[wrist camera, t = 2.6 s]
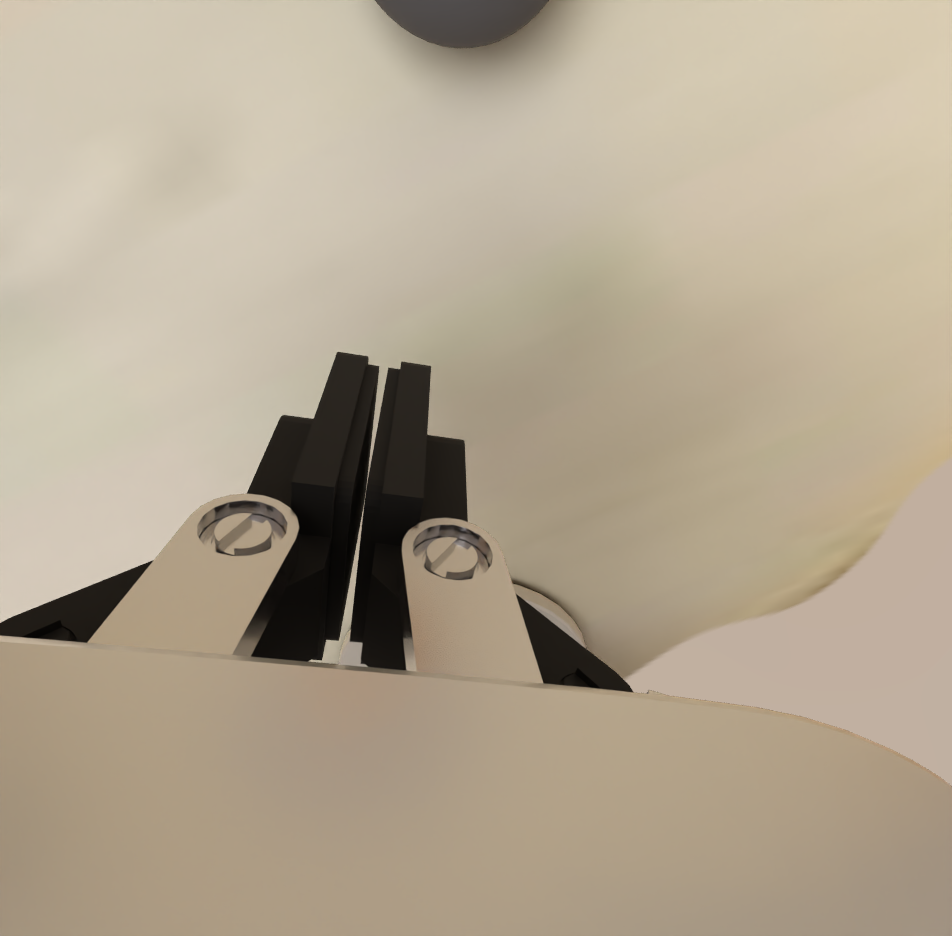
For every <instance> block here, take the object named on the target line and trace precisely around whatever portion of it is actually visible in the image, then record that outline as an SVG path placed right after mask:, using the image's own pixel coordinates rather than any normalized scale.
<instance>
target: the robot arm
mask: <svg viewBox="0 0 952 936" xmlns="http://www.w3.org/2000/svg"><path fill="white" fill-rule="evenodd" d="M378 374H379V366H374V365H368V356H362V355H355V354H349V353H342V352H337V355H336V357H335V360H334V363H333V366H332V369H331V372H330V374H329V377H328V380H327V383H326V386H325V389H324V391H323V394H322V397H321V400H320V403H319V406H318V408H317V411H316V414H315V417H314V419H309V418H302V417H295V416H287V415H282V416H281V418H280V420H279V422H278V424H277V426H276V429H275V431H274V433H273V435H272V438H271V440H270V442H269V444H268V447H267V449H266V451H265V453H264V456H263V458H262V460H261V463H260V465H259V467H258V469H257V472H256V474H255V476H254V478H253V481H252V483H251V485H250V487H249V490H248V492H247V494H236V495H228V496H225V497H221V498H217V499H214V500H212V501H210V502H208V503H206V504H204V505H202V506H200V507H199V508H198V509H197V510H196V511H195V512H193V513H192V514H191V515H190V516H189V518H188V519H187V520H186V521H185V522H184V524H183V525H182V526H181V527H180V529H179V530H178V531H177V532H176V534H175V535H174V536H173V537H172V539H171V540H170V541H169V542H168V543H167V545H166V546H165V547H164V548H163V550H162V551H161V552H160V553H159V555H158V556H157V557H156V558H155V559H154V560H153V561H150V562H148V563H145V564H143V565H140V566H138V567H135V568H133V569H130V570H128V571H125V572H123V573H121V574H118V575H116V576H113V577H111V578H108V579H106V580H103V581H101V582H98V583H96V584H93V585H91V586H88V587H86V588H83V589H81V590H78V591H76V592H73V593H71V594H68V595H66V596H63V597H61V598H58V599H56V600H53V601H51V602H48V603H46V604H43V605H41V606H38V607H36V608H33V609H31V610H28V611H26V612H23V613H21V614H18V615H16V616H13V617H11V618H9V619H7V620H5V621H3V622H1V623H0V936H952V786H951V785H949V784H948V783H947V782H946V781H945V780H943V779H942V778H941V777H939V776H938V775H936V774H935V773H933V772H931V771H930V770H928V769H926V768H925V767H923V766H921V765H920V764H918V763H916V762H914V761H913V760H911V759H909V758H907V757H905V756H903V755H901V754H899V753H897V752H896V751H894V750H892V749H889V748H887V747H885V746H883V745H880V744H878V743H875V742H873V741H871V740H868V739H866V738H864V737H861V736H859V735H857V734H854V733H852V732H849V731H847V730H844V729H841V728H837V727H834V726H831V725H828V724H825V723H821V722H818V721H815V720H811V719H808V718H805V717H801V716H796V715H791V714H787V713H782V712H777V711H772V710H767V709H763V708H758V707H751V706H743V705H735V704H728V703H721V702H713V701H706V700H698V699H690V698H683V697H675V696H668V695H665V694H662V693H658V692H655V691H651V690H649V691H648V692H647V694H644V693H634V692H633V691H632V689H631V688H630V686H629V685H628V684H627V683H626V682H625V681H624V680H623V679H622V678H621V677H620V676H619V675H618V674H617V673H616V672H615V671H614V670H612V669H611V668H610V667H608V666H607V665H606V664H605V663H603V662H602V661H601V660H600V659H598V658H597V657H596V656H594V655H593V654H592V653H591V652H589V651H588V650H587V649H586V645H585V642H584V639H583V635H582V633H581V631H580V630H579V628H578V627H577V625H576V623H575V622H574V620H573V619H572V618H571V617H570V616H569V615H568V614H567V613H566V612H565V611H564V610H563V609H562V608H561V607H560V606H559V605H557V604H556V603H554V602H553V601H551V600H549V599H548V598H546V597H545V596H543V595H541V594H540V593H537V592H535V591H532V590H530V589H527V588H525V587H522V586H520V585H516V584H512V581H511V578H510V574H509V571H508V568H507V565H506V562H505V558H504V555H503V552H502V550H501V548H500V546H499V544H498V542H497V541H496V540H495V539H494V538H493V537H492V536H491V535H490V534H489V533H488V532H487V531H485V530H484V529H482V528H480V527H478V526H477V525H475V524H472V523H469V522H468V520H467V493H466V466H465V444H464V440H460V439H452V438H445V437H438V436H431V435H427V428H428V410H429V392H430V374H431V366H426V365H420V364H413V363H407V362H401V368H400V369H394V368H388V373H387V379H386V384H385V390H384V395H383V401H382V406H381V412H380V417H379V423H378V428H377V434H376V439H375V445H374V450H373V456H372V461H371V467H370V472H369V478H368V483H367V475H368V466H369V457H370V448H371V439H372V430H373V420H374V411H375V402H376V393H377V384H378ZM366 485H367V490H366ZM365 493H366V497H365ZM364 500H365V504H364ZM363 506H364V513H363V522H362V531H361V541H360V550H359V559H358V568H357V577H356V586H355V596H354V605H353V614H352V623H351V629H350V630H349V631H348V633H347V635H346V637H345V640H344V642H343V645H342V647H341V651H340V657H339V663H338V664H328V663H317V662H308V661H310V660H311V659H313V660H322V657H323V652H324V647H325V642H326V639H327V640H337V641H339V637H340V632H341V626H342V621H343V616H344V610H345V605H346V599H347V594H348V588H349V583H350V577H351V572H352V566H353V561H354V555H355V550H356V544H357V539H358V533H359V528H360V522H361V517H362V511H363Z"/></svg>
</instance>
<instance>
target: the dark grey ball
mask: <svg viewBox="0 0 952 936" xmlns="http://www.w3.org/2000/svg"><path fill="white" fill-rule="evenodd" d="M375 1H376V2H377V3H378V5H379V6H380V7H381V8H382V9H383V10H384V11H385V12H386V13H387V15H388V16H390V17H391V18H392V19H393V20H394V21H395V22H396V23H398V24H399V25H400V26H401V27H403V28H404V29H406V30H407V31H409V32H410V33H412V34H413V35H415V36H417V37H419V38H421V39H423V40H426V41H428V42H431V43H434V44H437V45H441V46H446V47H453V48H473V47H479V46H485V45H488V44H491V43H494V42H497V41H500V40H502V39H504V38H506V37H508V36H510V35H511V34H513V33H515V32H516V31H518V30H519V29H520V28H522V27H523V26H525V25H526V24H527V23H528V22H529V21H530V20H531V19H532V18H533V17H535V16H536V15H537V14H538V13H539V11H540V10H541V9H542V8H543V7H544V5H545V4H546V3H547V2H548V1H549V0H375Z"/></svg>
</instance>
